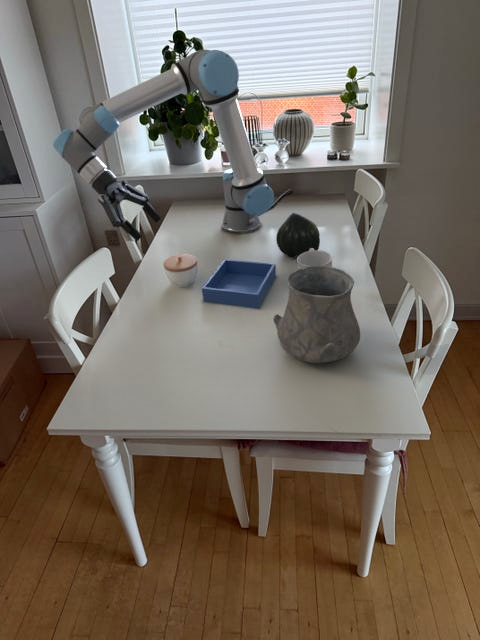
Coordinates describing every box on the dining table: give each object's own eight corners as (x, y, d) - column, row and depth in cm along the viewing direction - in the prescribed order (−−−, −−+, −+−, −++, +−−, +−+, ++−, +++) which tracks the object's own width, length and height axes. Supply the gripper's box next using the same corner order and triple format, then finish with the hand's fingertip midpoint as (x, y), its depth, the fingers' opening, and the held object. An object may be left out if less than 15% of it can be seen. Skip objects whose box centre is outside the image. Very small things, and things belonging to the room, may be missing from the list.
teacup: (330, 289, 139) (331, 265, 134) (295, 287, 141) (295, 264, 136) (332, 267, 150) (333, 245, 145) (299, 266, 152) (299, 245, 148)
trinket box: (185, 271, 155) (181, 246, 150) (206, 280, 148) (203, 255, 143) (160, 283, 149) (155, 258, 143) (181, 294, 142) (177, 267, 137)
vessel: (292, 315, 128) (292, 251, 117) (369, 335, 118) (377, 267, 107) (256, 359, 113) (252, 291, 102) (341, 386, 103) (347, 313, 92)
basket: (225, 271, 153) (224, 259, 150) (275, 276, 147) (275, 263, 145) (203, 301, 138) (201, 288, 135) (258, 308, 132) (257, 294, 130)
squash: (320, 251, 148) (319, 207, 150) (275, 253, 151) (274, 210, 153) (319, 262, 162) (318, 222, 164) (278, 264, 165) (277, 224, 166)
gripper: (113, 171, 149) (160, 219, 154) (69, 199, 130) (124, 253, 135) (125, 156, 144) (173, 206, 150) (81, 184, 125) (137, 240, 131)
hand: (149, 229), depth 143 cm, fingers open, 13 cm apart
